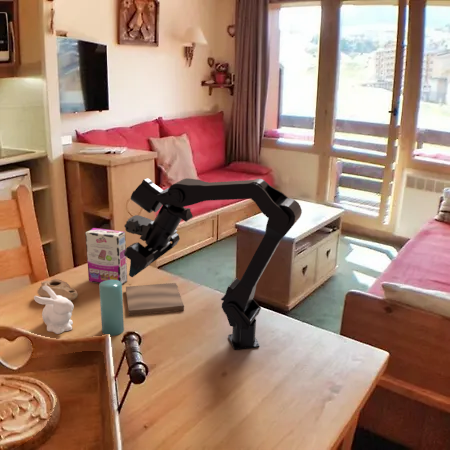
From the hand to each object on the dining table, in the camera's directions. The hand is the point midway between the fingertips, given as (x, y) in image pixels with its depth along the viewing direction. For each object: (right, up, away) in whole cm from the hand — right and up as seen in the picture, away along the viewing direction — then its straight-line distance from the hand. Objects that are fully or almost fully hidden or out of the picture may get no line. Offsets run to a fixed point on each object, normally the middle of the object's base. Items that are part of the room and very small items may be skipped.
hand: (140, 269), depth 133 cm
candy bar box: (-14, -6, +27) cm, 31 cm away
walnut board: (+1, -10, +15) cm, 18 cm away
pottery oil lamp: (-26, -10, +14) cm, 31 cm away
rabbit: (-21, -15, 0) cm, 26 cm away
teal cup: (-7, -16, -1) cm, 17 cm away
